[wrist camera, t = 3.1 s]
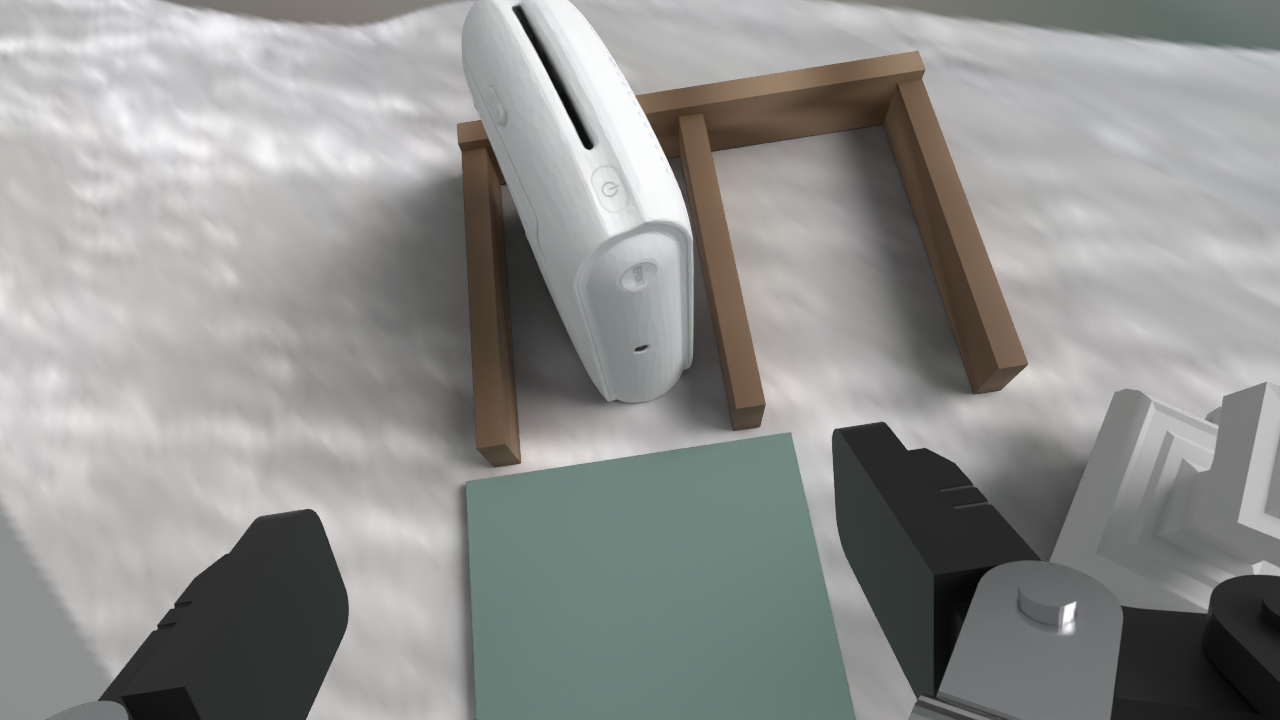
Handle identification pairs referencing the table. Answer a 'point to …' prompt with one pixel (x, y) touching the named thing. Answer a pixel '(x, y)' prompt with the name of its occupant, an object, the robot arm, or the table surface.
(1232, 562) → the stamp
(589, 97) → the photo printer
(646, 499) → the mat
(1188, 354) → the table surface
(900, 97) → the lane rack
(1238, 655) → the robot arm
